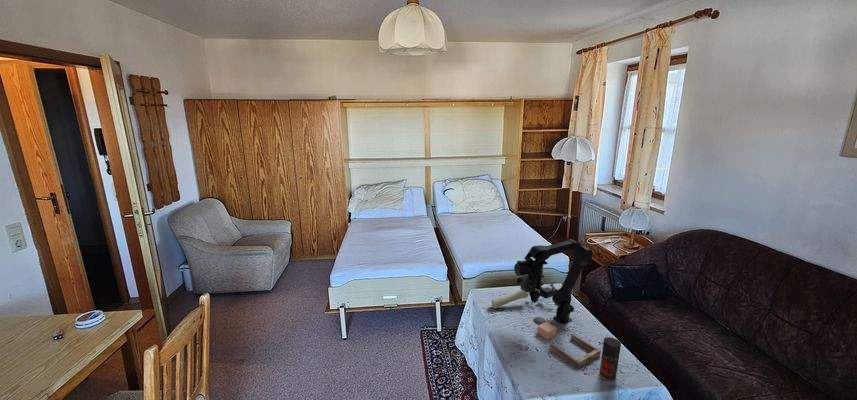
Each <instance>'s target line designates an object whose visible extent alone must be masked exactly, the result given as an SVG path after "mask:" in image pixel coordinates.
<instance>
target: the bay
mask: <svg viewBox="0 0 857 400" xmlns="http://www.w3.org/2000/svg"><path fill="white" fill-rule="evenodd" d="M570 340H571V341H573V342H575V343H577V344H578V345H580V346H582V347H583V348H584V349H586V350H588V351H589V353H587V354H585V355H584V356H581V357H579V358H578V359H576V358H574V357H573V356H571V355H570V354H568V353H567V352H566V351H564V350H563V349H561V347H558V346H556V345H555V344H553V343H551V344H550V351H552V352H553V353H555V354H556V355H558V356H560V358H562V359H564V360H565V361H567V362H568V363H570V364H571V365H573V366H574V367H575V368H576V369H579V368H581V367H583V366H584V365H586V364H588V363H590V362H591V361H593V360H595V359H597V358H598V357H600V356H601V354H602V350H601V349H599V348H598V347H596V346H594V345H592V344H591V343H590V342H588V341H586V340H584V338H583V339H582V338H581V337H580V336H578V335H576V334H574V333H571V334H570Z"/></svg>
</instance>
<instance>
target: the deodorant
mask: <svg viewBox="0 0 857 400" xmlns="http://www.w3.org/2000/svg"><path fill="white" fill-rule="evenodd" d="M621 346H622V343H621V341H620V340H618V339H617V338H614V337H611V336H610V337H609V336H608V337H605V338H604V339H603V346H602V350H601V359H600V365H599V366H600V367H599V372H598V373H599V376H601V377H602V378H603V379H605V380H608V381H615V380H616V379H615V378H617V373H618V367H619V366H618V365H619V360H620V353H621Z"/></svg>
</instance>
